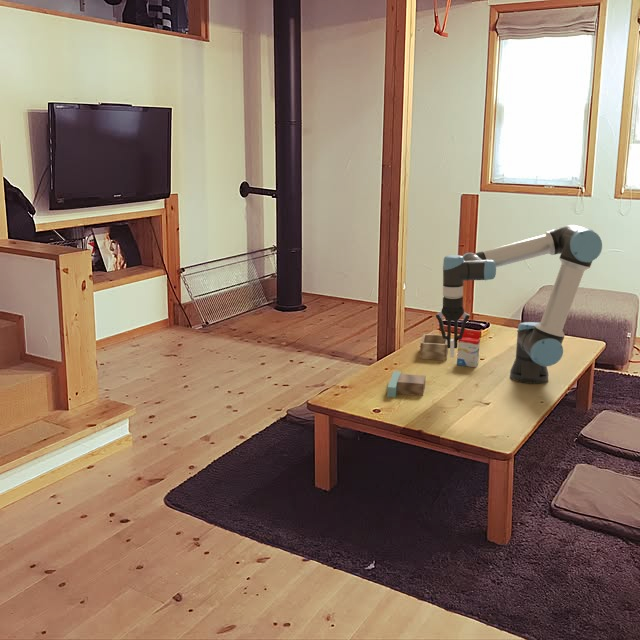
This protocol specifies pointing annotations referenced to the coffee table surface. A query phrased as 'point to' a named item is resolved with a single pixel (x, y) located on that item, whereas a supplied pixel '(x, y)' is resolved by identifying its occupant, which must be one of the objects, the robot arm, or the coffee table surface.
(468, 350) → the ink box
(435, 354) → the box
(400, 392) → the block
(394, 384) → the teal long rectangular bar
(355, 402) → the coffee table surface
